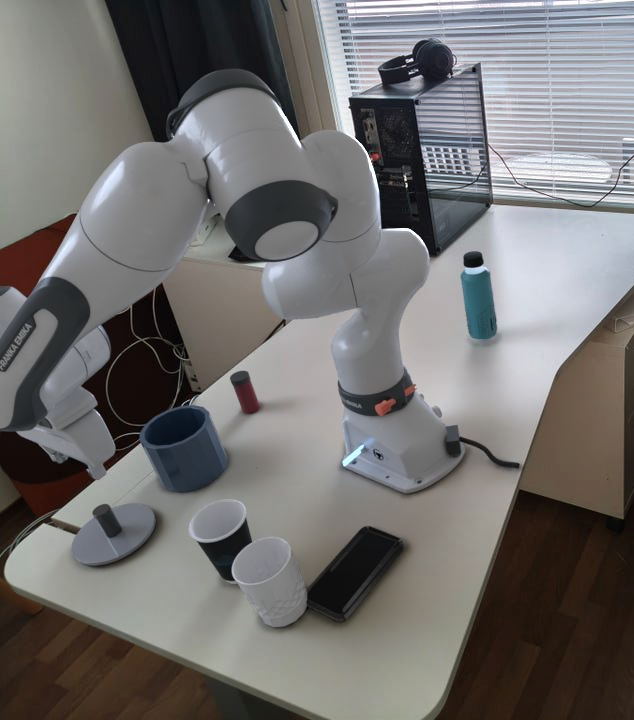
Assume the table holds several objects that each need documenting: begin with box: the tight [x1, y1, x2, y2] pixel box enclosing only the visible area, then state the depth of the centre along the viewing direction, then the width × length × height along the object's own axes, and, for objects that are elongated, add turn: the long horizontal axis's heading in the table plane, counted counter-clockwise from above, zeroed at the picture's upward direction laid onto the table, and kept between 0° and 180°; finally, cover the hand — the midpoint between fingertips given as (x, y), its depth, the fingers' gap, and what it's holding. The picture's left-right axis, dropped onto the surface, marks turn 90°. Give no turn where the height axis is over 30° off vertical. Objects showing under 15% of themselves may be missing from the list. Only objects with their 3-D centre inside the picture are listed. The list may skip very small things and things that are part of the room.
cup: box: [139, 404, 228, 493], centre depth 121 cm, size 12×12×10 cm
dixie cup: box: [188, 499, 253, 585], centre depth 100 cm, size 8×8×11 cm
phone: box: [306, 525, 405, 623], centre depth 100 cm, size 8×1×15 cm
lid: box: [71, 502, 157, 566], centre depth 110 cm, size 13×13×6 cm
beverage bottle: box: [459, 250, 498, 341], centre depth 145 cm, size 6×7×20 cm
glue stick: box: [229, 370, 261, 415], centre depth 136 cm, size 4×4×8 cm
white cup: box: [232, 536, 307, 628], centre depth 94 cm, size 8×8×10 cm
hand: (80, 468), depth 105 cm, fingers open, 8 cm apart
